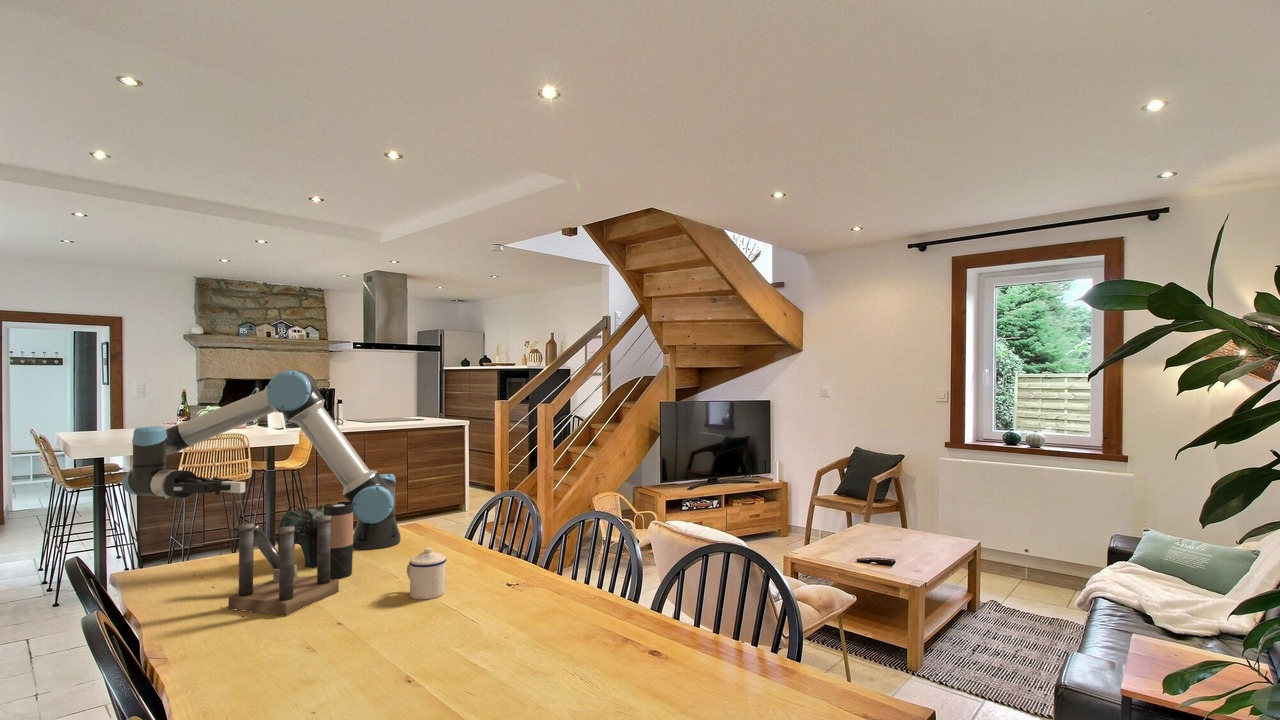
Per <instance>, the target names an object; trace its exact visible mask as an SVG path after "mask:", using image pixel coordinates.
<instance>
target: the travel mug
mask: <svg viewBox="0 0 1280 720" xmlns="http://www.w3.org/2000/svg"><path fill="white" fill-rule="evenodd" d="M323 510H324V516H331V534H330V580H341V579H345V578H348V577H350V576H351V575H353V574H352V573H353V558H354V557H353V555H354V554H353V553H354V552H353V551H354V547H353V534H354V513H353V503H352V502H348V501H338V502H337V503H335V504H334V503H333V504H331V503H330V502H328V503H325V504H324V505H323Z"/></svg>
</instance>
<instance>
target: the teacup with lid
mask: <svg viewBox="0 0 1280 720" xmlns="http://www.w3.org/2000/svg"><path fill="white" fill-rule="evenodd" d="M446 562H447V557H446V556H445V555H444V554H442V553H438V552H436V551H433V549H432V547H426V548H424V549H423V552H421V553H419V554H418V555H417V554H416V555H414V556H413V557H411V558H410V559H409V561H408V564H407V565H406V574H407V578H408V579H409V596H410V597H411V598H413V599H414V600H415V599H416V600H431V599H436V598H439V597H441V596H443V595H444V594H445V593H446Z"/></svg>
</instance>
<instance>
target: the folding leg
mask: <svg viewBox="0 0 1280 720" xmlns="http://www.w3.org/2000/svg"><path fill="white" fill-rule="evenodd" d="M254 545H255V546H256V547H257V549H259V551H260V553H261V554H262V555H263V556H264V558H265V559H266V560H267V562H268V563H269V564H270V566H271V567H272V568H273V571H274V570H275V569H279V552H278V549H277V548H276V547H275V545H273V543H272V542H271V540H270V539H269V538H268V536H267V534H265V533H264V531H263V529H262V528H261V526H260V525H259V524H254Z"/></svg>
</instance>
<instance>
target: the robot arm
mask: <svg viewBox="0 0 1280 720" xmlns="http://www.w3.org/2000/svg"><path fill="white" fill-rule="evenodd" d="M325 401H326V400H325V399H324V397H323V395H322V394H321V393H320V392H319V390H318V385H317V381H316V380H315V378H314V376H312V375H311V374H310V373H307V372H306V371H301V370H293V369H291V370H290V369H288V370H283V371H281V372H278V373H277V374H275V375H274V376H273V377H272V378H271V379H270V380H269V382H268V384H266V386H265V387H264V389H263V390H261V391H259V392H257V393H253V394H251V395H249V396H246V397H243V398H240V399H239V400H236V401H234V402H231V403H228V404H226V405H224V406H221V407H219V408H216V409H214V410H211V411H209V412H205V413H204V414H201V415H198V416H197V417H194V418H191V419H189V420H186V421H183V422H181V423H179V424H177V425H173V426H172V427H169V428H167V429H166V427H164V426H143V427H135V429H134V430H133V435H132V440H131V442H132V469H130V470H129V471H127V473H126V474H125V476H124V478H123V479H122V487H123V489H124V491H126V493H128V494H131V495H136V496H141V497H165V498H164V499H166V500H169V499H170V498H175V499H185V498H188V497H190V496H192V495H193V494H212V493H214V494H215V496H218V495H221V493H233V494H243V493H246V481H234V480H233V479H231V478H228V477H227V478H221V477H219V476H218V477H217V476H213V477H211V478H210V477H203V476H197V475H196V474H195V473H194V472H193V471H190V470H183V469H181V470H179V469H166V467H167V456H170V455H174V454H177V453H179V452H180V451H183V450H184V449H188V448H189V447H191V446H194V445H197V444H199V443H201V442H203V441H206V440H209V439H211V438H213V437H214V438H215V437H217V436H218V435H221V434H223V433H226V432H229V431H231V430H233V429H236V428H239V427H240V426H243V425H245V424H246V425H247V424H248V423H251V422H253V421H255V420H257V419H261V418H263V417H265V416H267V415H271V414H273V413H279V414H280V413H282V415H283V416H284V418H285V419H286V420H287V422H288V423H294V424H297V426H298V427H299V428H300V430H301V431H302V432H303V433H304V435H305V437H306V438H307V439H308V441H309V442H310V444H312V446H313V447H314V449H316V451H317V452H318V454H319V455H320V457H321V458H322V459H323V461H324V462H325V463H326V464H327V466H328V467H329V468H330V470H331V471H332V472H333V474H334V475H335V477H336V478H337V479H338V480H339V482H340V483H341V485H342V486H343V491H342V495H343V496H344V498H345V499H346V502H352V503H353V516H355V518H357V521H356V526H355V529H354V530H353V549H358V550H360V549H361V550H374V549H375V550H376V549H384V548H389V547H392V546H395V545H398V544H399V543H401V532H400V529H399V526H398V524H397V520H396V484H397V482H396V481H397V480H396V476H395V475H394V474H393V473H387V474H386V473H385V474H383V473H382V474H379V472H378V471H377V470H374V469H373V470H372V469H369V468H368V466H367V464H366V463H365V462H364V461H363V459H362V458H361V456H360V455H359V453H358V452H357V451H356V449H354V447H353V446H352V444H351V443H350V441H349V440H348V439H347V438H346V436H345V435H344V434H343V432H342V431H341V429H340V428H339V426H338V425H337V424H336V423H335V421H334V420H333V418H332V417H331V415H330V414H329V413H328V411H327V410H326V409H325V407H324V405H325Z"/></svg>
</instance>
